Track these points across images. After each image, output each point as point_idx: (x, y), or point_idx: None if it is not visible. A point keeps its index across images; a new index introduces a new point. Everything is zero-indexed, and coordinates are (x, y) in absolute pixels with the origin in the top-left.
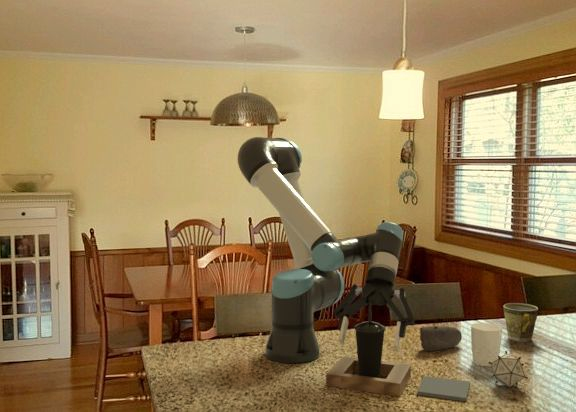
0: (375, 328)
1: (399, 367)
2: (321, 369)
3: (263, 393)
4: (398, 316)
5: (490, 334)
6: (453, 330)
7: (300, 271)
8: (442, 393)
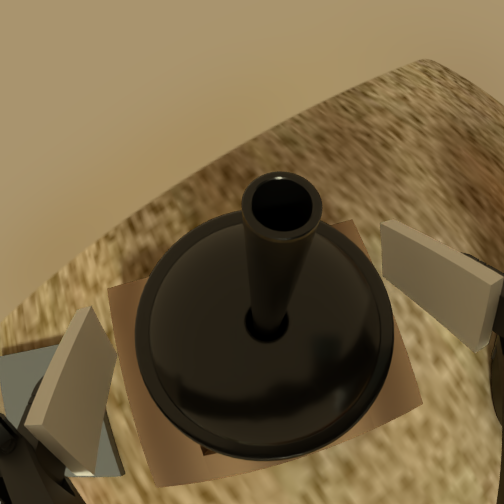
0: (177, 268)
1: (175, 441)
2: (438, 339)
3: (399, 130)
4: (32, 471)
5: None
6: None
7: None
8: (35, 358)
